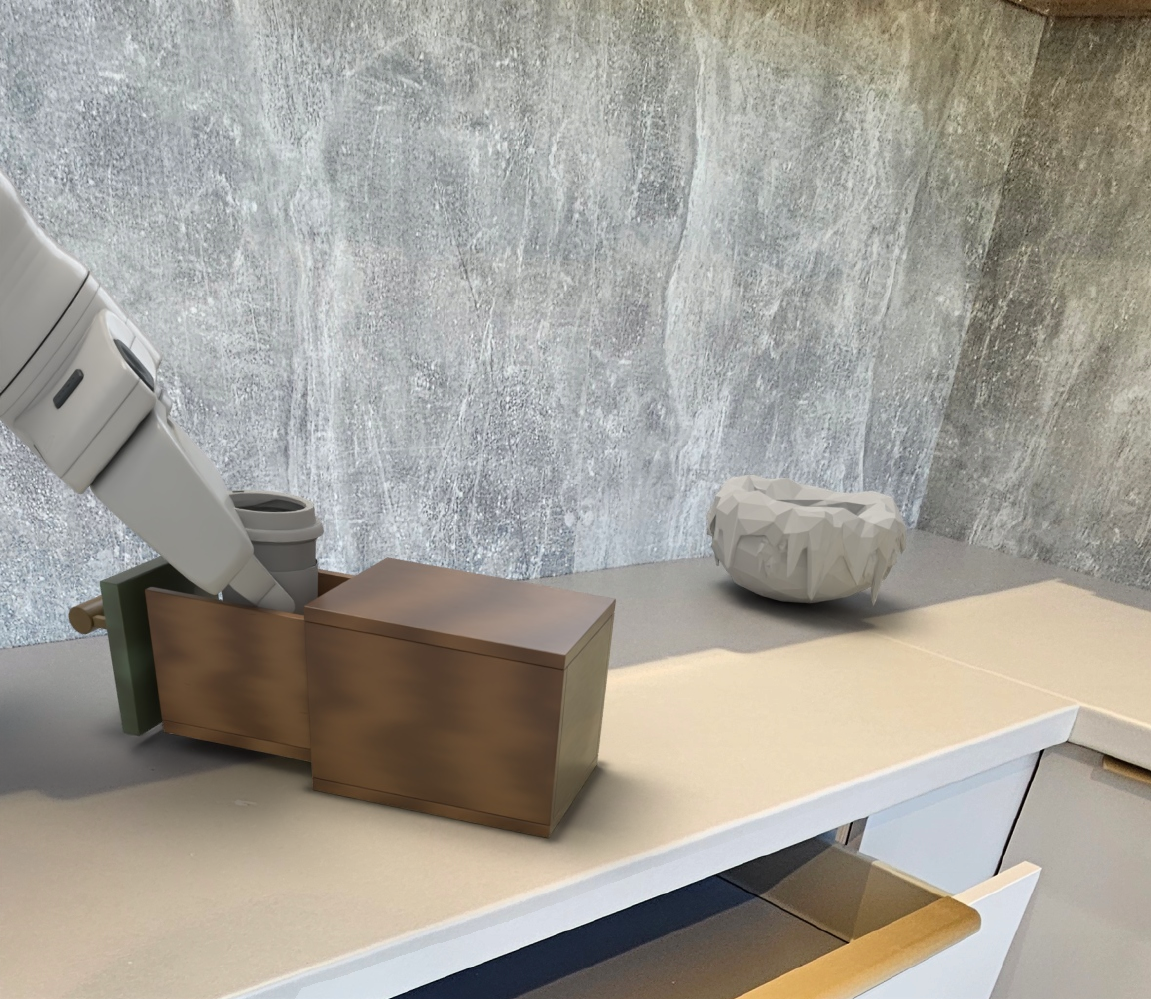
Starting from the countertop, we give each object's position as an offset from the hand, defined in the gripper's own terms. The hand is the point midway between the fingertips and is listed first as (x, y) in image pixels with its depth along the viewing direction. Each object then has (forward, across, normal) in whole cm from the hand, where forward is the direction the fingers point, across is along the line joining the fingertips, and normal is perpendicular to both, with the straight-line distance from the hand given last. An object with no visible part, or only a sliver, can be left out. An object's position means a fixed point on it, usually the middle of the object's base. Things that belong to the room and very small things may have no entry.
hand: (278, 595), depth 73 cm
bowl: (+47, -38, +34) cm, 70 cm away
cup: (+5, 0, -5) cm, 7 cm away
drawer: (+4, -1, -8) cm, 9 cm away
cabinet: (+14, +7, +1) cm, 15 cm away
